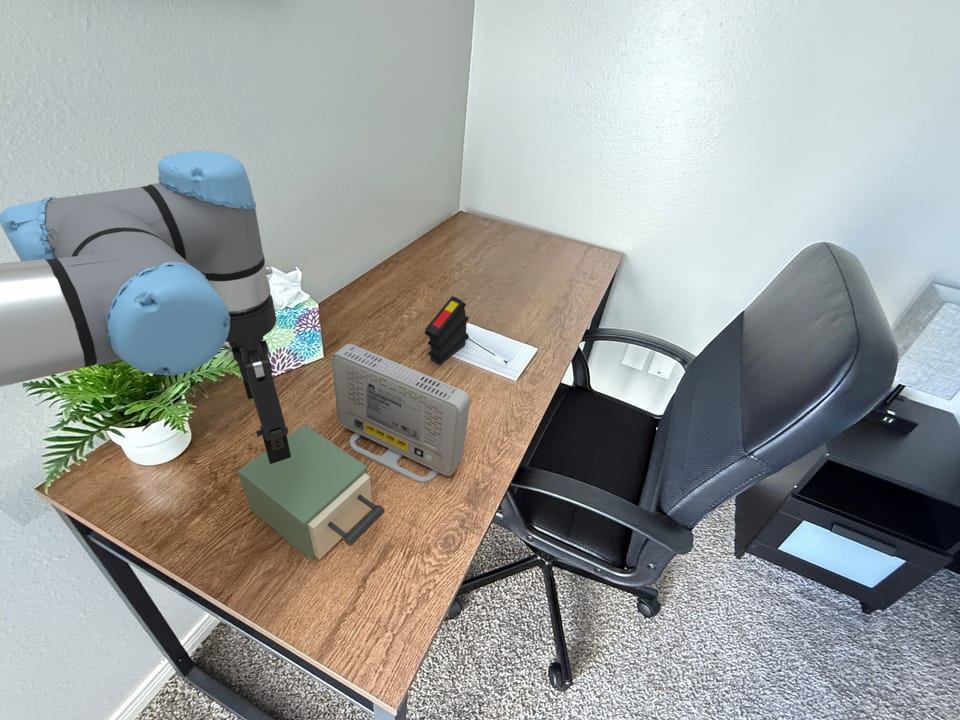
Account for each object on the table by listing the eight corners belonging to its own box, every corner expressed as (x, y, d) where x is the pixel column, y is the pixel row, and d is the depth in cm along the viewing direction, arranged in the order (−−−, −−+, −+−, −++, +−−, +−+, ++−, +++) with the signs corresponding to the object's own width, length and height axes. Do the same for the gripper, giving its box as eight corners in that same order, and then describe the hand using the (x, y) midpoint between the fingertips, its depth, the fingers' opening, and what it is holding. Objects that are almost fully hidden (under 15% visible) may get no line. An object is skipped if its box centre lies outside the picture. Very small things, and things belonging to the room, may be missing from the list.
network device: (466, 462, 90) (477, 386, 78) (444, 495, 84) (452, 418, 71) (357, 412, 97) (352, 334, 85) (329, 439, 91) (319, 360, 78)
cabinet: (369, 505, 80) (367, 466, 74) (311, 561, 72) (303, 523, 65) (311, 463, 86) (304, 423, 79) (250, 510, 77) (237, 471, 70)
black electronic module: (474, 335, 120) (464, 300, 108) (445, 374, 116) (431, 342, 103) (463, 329, 122) (451, 294, 109) (433, 367, 117) (418, 335, 104)
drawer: (394, 524, 77) (394, 492, 72) (343, 579, 69) (338, 548, 64) (316, 468, 84) (311, 435, 78) (261, 512, 76) (251, 479, 71)
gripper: (300, 351, 47) (321, 479, 60) (248, 247, 63) (274, 367, 76) (218, 370, 44) (259, 502, 57) (185, 255, 59) (223, 379, 72)
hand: (268, 425), depth 66 cm, fingers open, 13 cm apart
